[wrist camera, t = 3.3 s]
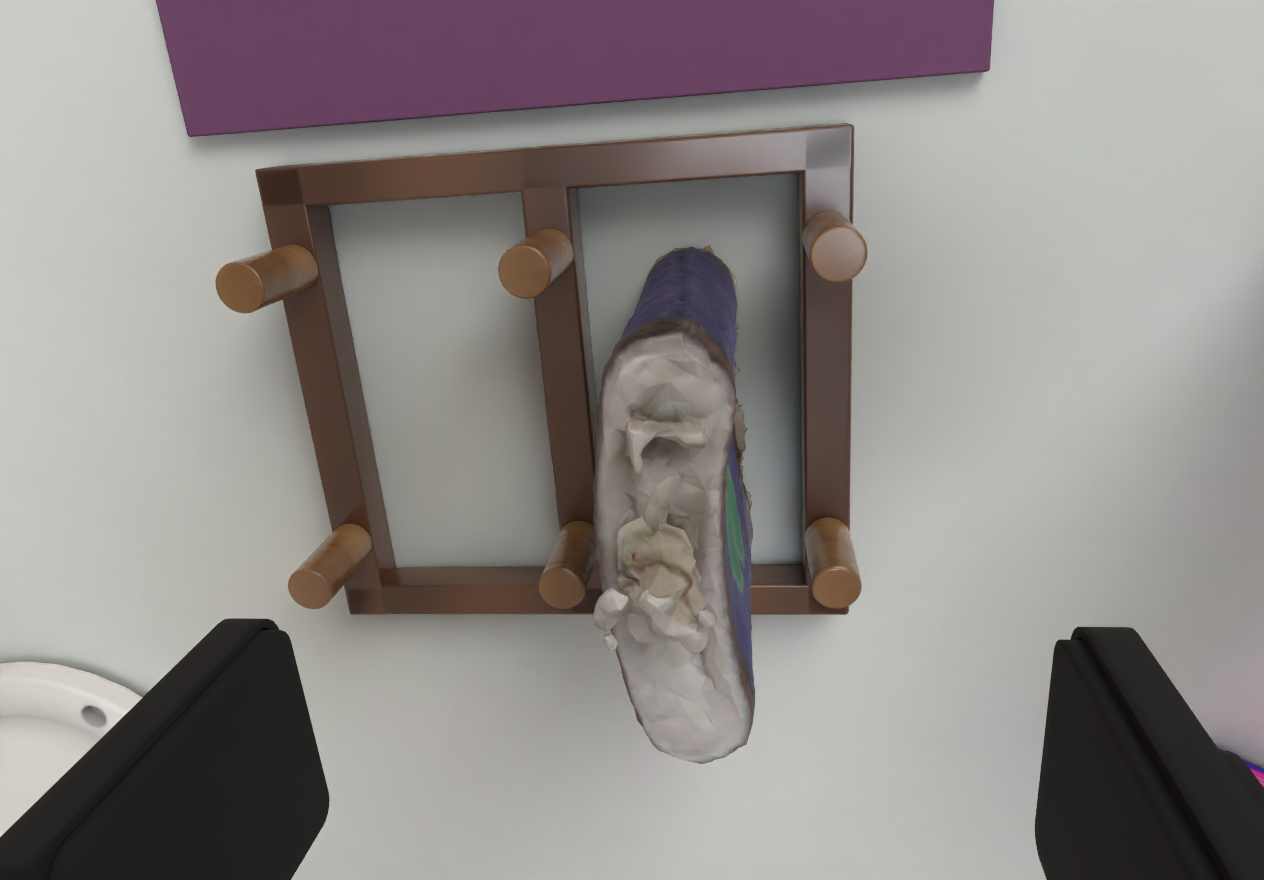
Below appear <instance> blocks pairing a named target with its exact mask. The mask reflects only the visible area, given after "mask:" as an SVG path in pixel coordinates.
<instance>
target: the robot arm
mask: <svg viewBox="0 0 1264 880" xmlns="http://www.w3.org/2000/svg"><path fill="white" fill-rule="evenodd" d="M328 809H329V792H328V788H327V784H326V780H325V776H324V772H323V768H322V764H321V760H320V756H319V752H318V748H317V744H316V740H315V736H314V732H313V728H312V724H311V720H310V716H309V712H308V708H307V704H306V700H305V696H304V692H303V688H302V684H301V680H300V676H299V672H298V668H297V664H296V660H295V656H294V652H293V648H292V644H291V640H290V638H289V635H288V634H287V633H286V632H285V631H282V630H279V629H278V626H277V625H276V624H275V623H274V621H272V620H269V619H225V620H223V621H221V622H220V623H219V624H217V625H216V626H215V627H214V628H213V629H212V630H211V631H210V632H209V633H208V634H207V635H206V636H205V637H204V638H203V639H202V640H201V641H200V642H199V643H198V644H197V645H196V646H195V647H194V648H193V649H192V650H191V651H190V652H189V653H188V654H187V655H186V656H185V657H184V658H183V659H182V660H181V661H180V662H179V663H178V664H177V665H176V666H175V667H174V668H172V669H171V670H170V671H169V672H168V673H167V674H166V675H165V676H164V677H163V678H162V679H161V680H160V681H159V682H158V683H157V684H156V685H155V686H154V687H153V688H152V689H151V690H150V691H149V692H148V693H147V694H146V695H145V696H144V697H141V696H140V695H138V694H136V693H135V692H133V691H131V690H130V689H128V688H126V687H124V686H122V685H119V684H117V683H115V682H112V681H110V680H108V679H105V678H103V677H101V676H98V675H96V674H93V673H90V672H86V671H82V670H78V669H74V668H71V667H67V666H63V665H59V664H50V663H40V662H29V661H23V662H11V663H0V880H291V879H292V877H293V875H294V874H295V872H296V870H297V869H298V867H299V865H300V864H301V862H302V860H303V859H304V857H305V855H306V854H307V852H308V850H309V849H310V847H311V845H312V843H313V842H314V840H315V838H316V837H317V835H318V833H319V832H320V830H321V828H322V827H323V825H324V823H325V821H326V817H327V814H328ZM1035 838H1036V846H1037V851H1038V855H1039V859H1040V862H1041V865H1042V867H1043V870H1044V873H1045V876H1046V878H1047V880H1264V787H1263V786H1262V785H1261V783H1260V782H1259V780H1258V779H1257V778H1256V776H1255V775H1254V773H1253V772H1252V771H1251V769H1250V768H1249V767H1248V766H1247V765H1246V763H1245V762H1244V761H1243V760H1242V759H1241V758H1240V757H1239V756H1237V755H1235V754H1233V753H1231V752H1229V751H1219V750H1218V748H1217V747H1216V745H1215V744H1214V742H1213V741H1212V739H1211V738H1210V737H1209V735H1208V734H1207V732H1206V731H1205V729H1204V728H1203V727H1202V725H1201V724H1200V722H1199V721H1198V719H1197V718H1196V716H1195V715H1194V714H1193V712H1192V711H1191V709H1190V708H1189V706H1188V705H1187V703H1186V702H1185V701H1184V699H1183V698H1182V696H1181V695H1180V693H1179V692H1178V690H1177V689H1176V688H1175V686H1174V685H1173V683H1172V682H1171V680H1170V679H1169V677H1168V676H1167V675H1166V673H1165V672H1164V670H1163V669H1162V667H1161V666H1160V665H1159V663H1158V662H1157V660H1156V659H1155V657H1154V656H1153V654H1152V653H1151V652H1150V650H1149V649H1148V647H1147V646H1146V644H1145V643H1144V641H1143V640H1142V639H1141V637H1140V636H1139V634H1138V633H1137V632H1136V631H1135V630H1134V629H1133V628H1129V627H1077V628H1076V629H1074V631H1073V633H1072V636H1071V640H1058V641H1057V642H1056V645H1055V648H1054V655H1053V664H1052V673H1051V682H1050V691H1049V700H1048V709H1047V718H1046V727H1045V737H1044V746H1043V755H1042V764H1041V773H1040V782H1039V791H1038V800H1037V809H1036V818H1035Z"/></svg>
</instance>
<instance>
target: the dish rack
mask: <svg viewBox="0 0 1264 880" xmlns="http://www.w3.org/2000/svg"><path fill="white" fill-rule="evenodd" d="M255 172H256V177H257V182H258V186H259V191H260V196H261V200H262V205H263V210H264V214H265V219H266V224H267V228H268V233H269V238H270V242H271V247H272V250H270V251H266V252H263V253H260V254H257V255H254V256H250V257H247V258H244V259H241V260H238V261H234V262H231V263H228V264H226V265H224V266H223V267H222V268H221V269H220V271H219V272H218V274H217V277H216V290H217V293H218V295H219V297H220V299H221V300H222V302H223V303H224V304H225V305H226V306H227V307H229V308H230V309H232V310H234V311H236V312H239V313H251V312H254V311H256V310H259V309H261V308H263V307H266V306H268V305H270V304H273V303H275V302H277V301H280V300H282V299H283V303H284V308H285V312H286V317H287V322H288V326H289V331H290V336H291V340H292V345H293V350H294V354H295V359H296V364H297V368H298V373H299V378H300V382H301V387H302V392H303V396H304V401H305V406H306V410H307V415H308V420H309V424H310V429H311V434H312V438H313V443H314V448H315V452H316V457H317V462H318V466H319V471H320V476H321V480H322V485H323V490H324V494H325V499H326V504H327V508H328V513H329V518H330V522H331V527H332V532H333V533H332V534H331V535H330V536H329V537H328V538H327V539H326V540H325V541H324V542H323V543H322V544H321V545H320V546H319V547H318V548H317V549H316V550H315V551H314V552H313V553H312V554H311V555H310V556H309V557H308V558H307V560H306V561H305V562H304V563H303V564H302V565H301V566H300V567H299V568H298V569H297V570H296V571H295V572H294V573H293V574H292V575H291V577H290V579H289V583H288V589H289V592H290V595H291V596H292V598H293V599H294V600H295V601H296V602H297V603H298V604H300V605H301V606H303V607H306V608H310V609H317V608H321V607H324V606H325V605H327V604H328V603H329V601H330V600H331V599H332V598H333V597H334V595H335V594H336V593H337V592H338V591H339V590H340V588H341V587H342V586H343V585H344V588H345V592H346V597H347V602H348V606H349V611H350V614H594V610H595V605H596V603H597V601H598V599H599V597H600V596H601V595H602V594H603V591H602V583H601V579H600V574H599V570H600V566H599V563H598V561H597V544H596V533H595V527H594V521H593V516H594V497H593V483H594V476H595V462H596V432H597V426H598V412H597V401H596V391H595V380H594V369H593V359H592V348H591V337H590V327H589V316H588V305H587V295H586V284H585V273H584V263H583V252H582V241H581V231H580V220H579V210H578V199H577V188H588V187H602V186H617V185H631V184H646V183H661V182H675V181H690V180H704V179H719V178H734V177H748V176H763V175H777V174H792V173H799V199H800V306H801V412H802V518H803V565H751V588H750V592H751V614H832V615H846V614H848V612H849V605H851V604H852V603H853V602H854V601H855V600H856V599H857V598H858V596H859V595H860V592H861V587H862V586H861V580H860V575H859V571H858V567H857V562H856V558H855V554H854V549H853V545H852V541H851V536H850V448H851V357H852V278H854V277H855V276H857V275H858V274H859V273H860V271H861V270H862V269H863V267H864V265H865V262H866V259H867V246H866V243H865V241H864V239H863V237H862V236H861V235H860V233H859V232H858V231H857V230H856V229H855V227H854V226H853V176H854V126H853V125H851V124H848V123H842V124H828V125H815V126H802V127H789V128H776V129H763V130H749V131H736V132H723V133H710V134H697V135H683V136H670V137H657V138H644V139H631V140H618V141H604V142H591V143H578V144H565V145H552V146H539V147H525V148H512V149H499V150H486V151H473V152H459V153H446V154H433V155H420V156H407V157H394V158H380V159H367V160H354V161H341V162H328V163H314V164H301V165H288V166H276V167H269V168H262V169H257V170H255ZM515 192H521V195H522V204H523V213H524V221H525V230H526V239H525V240H523V241H521V242H520V243H518V244H517V245H515V246H513V247H512V248H510V249H508V250H507V251H506V252H505V253H504V255H503V256H502V258H501V260H500V263H499V269H498V271H499V278H500V281H501V283H502V285H503V286H504V288H505V289H506V290H507V291H508V292H509V293H511V294H512V295H514V296H516V297H518V298H523V299H531V298H533V300H534V308H535V317H536V326H537V334H538V343H539V352H540V360H541V369H542V378H543V387H544V395H545V404H546V413H547V421H548V430H549V439H550V447H551V456H552V465H553V473H554V482H555V491H556V500H557V508H558V517H559V526H560V535H559V537H558V539H557V541H556V544H555V546H554V548H553V551H552V553H551V555H550V557H549V560H548V562H547V564H546V566H545V567H422V568H396V566H395V561H394V556H393V550H392V545H391V540H390V534H389V529H388V524H387V519H386V513H385V508H384V503H383V498H382V492H381V487H380V482H379V476H378V471H377V466H376V461H375V455H374V450H373V445H372V440H371V434H370V429H369V424H368V418H367V413H366V408H365V403H364V397H363V392H362V387H361V382H360V376H359V371H358V366H357V361H356V355H355V350H354V345H353V339H352V334H351V329H350V324H349V318H348V313H347V308H346V303H345V297H344V292H343V287H342V281H341V276H340V271H339V266H338V260H337V255H336V250H335V245H334V239H333V234H332V229H331V223H330V218H329V213H328V208H327V205H340V204H354V203H369V202H384V201H398V200H413V199H427V198H442V197H456V196H471V195H486V194H500V193H515Z"/></svg>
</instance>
